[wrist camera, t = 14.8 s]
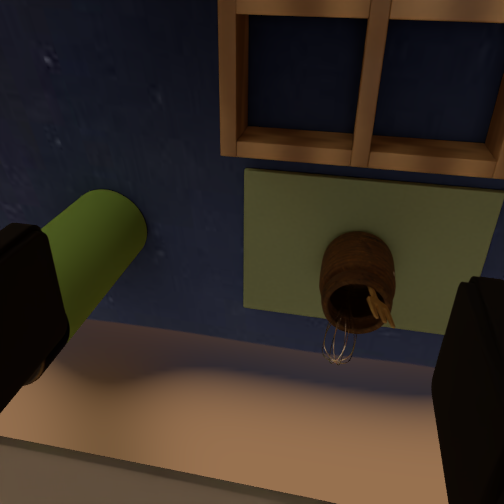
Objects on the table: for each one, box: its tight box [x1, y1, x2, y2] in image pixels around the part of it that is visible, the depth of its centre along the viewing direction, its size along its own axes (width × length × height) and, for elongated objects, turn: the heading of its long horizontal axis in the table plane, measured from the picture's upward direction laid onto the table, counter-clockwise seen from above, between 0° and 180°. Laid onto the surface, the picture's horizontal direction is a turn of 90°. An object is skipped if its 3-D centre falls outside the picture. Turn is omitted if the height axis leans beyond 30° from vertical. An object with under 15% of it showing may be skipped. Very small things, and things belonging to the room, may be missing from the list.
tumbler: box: [23, 189, 147, 386], centre depth 38 cm, size 8×8×17 cm
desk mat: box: [243, 168, 504, 335], centre depth 41 cm, size 20×14×1 cm
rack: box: [218, 0, 504, 179], centre depth 33 cm, size 20×11×4 cm, turn 89°
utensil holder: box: [319, 231, 396, 365], centre depth 36 cm, size 6×6×12 cm
